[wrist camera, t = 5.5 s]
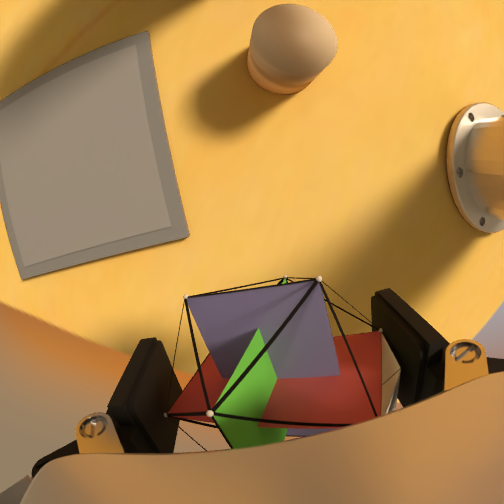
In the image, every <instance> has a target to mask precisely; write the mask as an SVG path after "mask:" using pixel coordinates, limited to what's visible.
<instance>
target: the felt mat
mask: <svg viewBox="0 0 504 504" xmlns="http://www.w3.org/2000/svg"><path fill="white" fill-rule="evenodd" d="M0 203H1V207H2V212H3V216H4V221H5V225H6V229H7V233H8V236H9V240H10V244H11V247H12V251H13V254H14V257H15V260H16V264H17V267H18V270H19V273H20V276H21V278H22V279H26V278H29V277H33V276H37V275H40V274H44V273H47V272H51V271H55V270H59V269H62V268H66V267H70V266H74V265H77V264H81V263H85V262H89V261H93V260H96V259H100V258H104V257H108V256H112V255H116V254H120V253H124V252H128V251H132V250H136V249H140V248H144V247H148V246H153V245H157V244H161V243H165V242H169V241H173V240H178V239H182V238H186V237H189V236H190V233H189V230H188V226H187V221H186V217H185V213H184V209H183V205H182V201H181V197H180V192H179V188H178V184H177V179H176V175H175V170H174V166H173V161H172V157H171V152H170V147H169V142H168V138H167V133H166V128H165V123H164V118H163V112H162V107H161V102H160V96H159V91H158V85H157V79H156V74H155V68H154V61H153V55H152V49H151V42H150V35H149V32H148V31H144V32H141V33H138V34H135V35H132V36H129V37H127V38H124V39H121V40H118V41H116V42H113V43H110V44H108V45H105V46H103V47H100V48H98V49H95V50H93V51H91V52H88V53H86V54H84V55H82V56H80V57H77V58H75V59H73V60H71V61H69V62H67V63H65V64H63V65H61V66H59V67H57V68H55V69H53V70H51V71H49V72H47V73H46V74H44V75H42V76H40V77H38V78H37V79H35V80H33V81H31V82H30V83H28V84H26V85H25V86H23V87H21V88H20V89H18V90H17V91H15V92H13V93H12V94H10V95H9V96H7V97H6V98H4V99H3V100H1V101H0Z"/></svg>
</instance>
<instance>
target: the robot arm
mask: <svg viewBox="0 0 504 504" xmlns="http://www.w3.org/2000/svg"><path fill="white" fill-rule="evenodd" d="M447 173H448V180H449V184H450V190H451V193H452V196H453V199H454V202H455V204H456V206H457V208H458V210H459V212H460V213H461V215H462V216H463V218H464V219H465V220H466V221H467V222H468V223H469V224H470V225H471V226H472V227H474V228H476V229H478V230H480V231H483V232H487V233H496V232H499V231H502V230H503V229H504V112H502V111H501V110H500V109H499V108H497V107H496V106H494V105H492V104H489V103H485V102H484V103H475V104H471V105H468V106H467V107H465V108H464V109H462V110H461V111H460V113H459V114H458V115H457V116H456V118H455V120H454V122H453V124H452V127H451V130H450V134H449V138H448V145H447ZM371 312H372V323H373V324H374V325H375V326H374V325H373V324H372V326H374V327H376V328H379V329H380V328H381V329H382V330H383V332H382V333H383V335H384V337H385V339H386V341H387V342H388V344H389V346H390V348H391V350H392V352H393V354H394V355H395V357H396V359H397V361H398V363H399V365H400V367H401V373H400V381H399V389H398V396H397V398H398V399H399V401H400V403H401V404H402V406H403V408H401V409H398V410H395V411H392V412H390V413H387V414H384V415H381V416H378V417H375V418H372V419H369V420H365V421H362V422H359V423H356V424H352V425H349V426H345V427H342V428H338V429H334V430H330V431H326V432H322V433H318V434H314V435H310V436H305V437H301V438H296V439H291V440H286V441H280V442H275V443H269V444H263V445H256V446H250V447H242V448H234V449H225V450H215V451H203V452H187V453H173V451H174V446H175V440H176V436H177V431H178V426H179V421H180V420H179V419H175V418H171V417H169V418H170V419H172V420H173V421H174V422H175V423H176V424H177V425H178V426H177V425H176V424H175V423H174V422H173V421H171V420H170V419H169V418H168V417H164V413H166V411H167V412H168V411H169V409H170V408H171V407H172V405H173V404H174V402H175V401H176V400H177V398H178V397H179V395H180V394H181V393H182V389H181V387H180V384H179V382H178V380H177V377H176V375H175V373H174V370H173V373H172V369H173V368H172V366H171V363H170V361H169V358H168V356H167V354H166V351H165V349H164V346H163V344H162V342H161V341H160V340H158V341H157V339H156V338H155V337H154V338H147V339H141V340H140V342H139V344H138V346H137V348H136V349H135V351H134V353H133V355H132V357H131V359H130V361H129V363H128V365H127V367H126V369H125V371H124V373H123V375H122V377H121V379H120V381H119V383H118V385H117V387H116V389H115V391H114V393H113V395H112V397H111V400H110V402H109V404H108V406H107V407H108V410H107V412H106V413H93V414H90V415H88V416H86V417H85V418H83V419H82V420H81V421H80V422H79V423H78V424H77V427H76V432H75V433H76V439H77V440H75V441H73V442H71V443H69V444H67V445H66V446H64V447H62V448H60V449H58V450H56V451H55V452H53V453H51V454H49V455H47V456H45V457H43V458H42V459H40V460H38V461H37V463H36V464H35V465H34V467H33V469H32V477H31V478H30V477H29V476H28V475H27V476H26V477H24V478H23V479H21V480H20V481H19V482H17V483H15V484H14V485H12V486H11V487H9V488H8V489H6V490H5V491H3V492H2V493H0V504H504V359H497V358H489V357H486V352H485V349H484V347H483V346H482V345H481V344H480V343H478V342H476V341H473V340H469V339H462V340H457V341H454V342H452V343H451V344H450V343H449V342H448V341H447V340H445V338H444V337H443V336H442V335H440V334H439V333H438V332H437V331H436V330H435V329H434V328H433V327H432V326H431V325H430V324H429V323H428V322H427V321H426V320H424V319H423V318H422V317H421V316H420V315H419V314H418V313H417V312H416V311H415V310H414V309H412V308H411V307H410V306H409V305H408V304H407V303H406V302H405V301H404V300H402V299H401V298H400V297H399V296H398V295H397V294H396V293H395V292H393V291H392V290H391V289H390V288H388V289H384V290H380V291H377V292H375V296H372V297H371ZM375 331H378V330H377V329H375V328H373V327H372V332H375ZM171 375H172V379H171ZM170 382H171V386H170ZM169 389H170V393H169ZM168 396H169V400H168ZM167 403H168V408H167Z"/></svg>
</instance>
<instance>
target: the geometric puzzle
mask: <svg viewBox="0 0 504 504" xmlns="http://www.w3.org/2000/svg"><path fill="white" fill-rule="evenodd" d="M288 278H293V277H287V276H286V275H284V276H283V278H279V279H275V280H270V281H265V282H260V283H255V284H250V285H245V286H240V287H235V288H230V289H225V290H220V291H215V292H209V293H204V294H199V295H193V296H188V295H186V294H185V295H184V296H183V298H184V302H185V306H186V311H187V317H188V322H189V327H190V332H191V337H192V342H193V347H194V352H195V357H196V361H197V366H198V370H197V371H196V373H195V374H194V376H193V377H192V379H191V380H190V382H189V383H188V384H187V386H186V387H185V388H184V390H183V391H182V393H181V394H180V395H179V397H178V398H177V400H176V401H175V402H174V404H173V405H172V407H171V408H170V409H169V411H168V412H167V411H166V413H164V417H168V418H169V417H171V418H175V419H179V420H183V421H187V422H191V423H195V424H200V425H204V426H209V427H214V428H218V429H219V430H220V432H221V433H222V435H223V437H224V438H225V440H226V441H227V443H228V444H229V446H230V447H231V449H234V448H242V447H250V446H256V445H263V444H269V443H275V442H280V441H284V439H285V436H297V437H305V436H310V435H314V434H318V433H322V432H326V431H330V430H334V429H338V428H342V427H345V426H349V425H352V424H356V423H359V422H362V421H365V420H369V419H372V418H375V417H378V416H381V415H384V414H387V413H390V412H392V411H394V409H395V407H396V402H397V396H398V389H399V381H400V373H401V367H400V365H399V363H398V361H397V359H396V357H395V355H394V354H393V352H392V350H391V348H390V346H389V344H388V342H387V341H386V339H385V337H384V335H383V333H382V332H383V330H382V329H381V328H380V329H379V328H376V327H374V326H375V325H374V324H373V323H372V322H371V323H372V324H373V325H374V326H372V325H370V324H369V323H367V322H365V321H363V320H361V319H360V318H358V317H356V316H354V315H352V314H351V313H349V312H347V311H345V310H343V309H342V308H340V307H338V306H336V305H334V304H333V303H331V302H330V301H329V298H328V296H327V294H326V292H325V290H324V287H323V285H322V283H321V281H322V277H321V276H317V277H316V278H298V279H310V280H303V281H297V282H293V281H291V280H290V279H288ZM280 279H282V280H281V281H280V282H279V283H278V284H277V285H270V286H264V287H257V288H250V289H242V290H235V291H228V292H222V291H227V290H232V289H237V288H242V287H247V286H252V285H256V284H261V283H266V282H271V281H276V280H280ZM287 280H289V281H291V282H290V283H288V281H287ZM282 282H283V283H282ZM322 282H323V281H322ZM281 283H282V284H281ZM323 283H324V282H323ZM324 284H325V283H324ZM325 285H326V284H325ZM327 286H328V285H327ZM328 287H329V286H328ZM329 288H330V287H329ZM330 289H331V288H330ZM331 290H332V289H331ZM322 291H323V293H324V295H325V298H326V300H325V299H324V297H323V293H322ZM333 291H334V290H333ZM217 292H220V293H217ZM334 292H335V291H334ZM211 293H213V294H211ZM335 293H336V292H335ZM336 294H337V293H336ZM337 295H338V294H337ZM339 296H340V295H339ZM340 297H341V296H340ZM341 298H342V297H341ZM342 299H343V298H342ZM324 300H325V301H327V302H328V304H329V306H330V309H331V311H332V313H333V316H334V318H335V320H336V322H337V325H338V327H339V329H340V332H341V334H342V336H336V337H333V336H332V332H331V327H330V323H329V319H328V314H327V310H326V306H325V302H324ZM343 300H344V299H343ZM345 301H346V300H345ZM346 302H347V301H346ZM347 303H348V302H347ZM331 304H332V305H334V306H336V307H337V308H339V309H341V310H343V311H344V312H346V313H348V314H350V315H352V316H353V317H355V318H357V319H359V320H361V321H362V322H364V323H366V324H368V325H370V326H371V327H373V328H375V329H377V330H378V331H375V332H368V333H361V334H353V335H344V332H343V330H342V328H341V325H340V323H339V321H338V319H337V316H336V314H335V312H334V310H333V307H332V305H331ZM348 304H349V303H348ZM349 305H350V304H349ZM188 306H189V308H190V310H191V313H192V315H193V317H194V319H195V322H196V324H197V326H198V328H199V330H200V333H201V335H202V337H203V339H204V341H205V344H206V346H207V348H208V350H209V352H210V353H209V354H208V356H207V357H206V359H205V360H204V362H203V363H202V364H201V366H200V361H199V357H198V352H197V348H196V343H195V338H194V334H193V329H192V324H191V319H190V314H189V308H188ZM352 307H353V306H352ZM183 308H184V304H183ZM353 308H354V307H353ZM354 309H355V308H354ZM355 310H356V309H355ZM358 312H359V311H358ZM182 313H183V309H182ZM359 313H360V312H359ZM360 314H361V313H360ZM361 315H362V314H361ZM364 317H365V316H364ZM365 318H366V317H365ZM181 319H182V315H181ZM366 319H367V318H366ZM367 320H368V319H367ZM368 321H369V320H368ZM180 324H181V321H180ZM179 330H180V326H179ZM178 336H179V332H178ZM177 342H178V338H177ZM176 348H177V344H176ZM175 354H176V350H175ZM174 360H175V356H174ZM173 366H174V362H173ZM172 373H173V369H172ZM171 379H172V375H171ZM170 386H171V382H170ZM169 393H170V389H169ZM168 400H169V396H168ZM167 408H168V403H167ZM169 419H170V418H169ZM189 419H190V420H189ZM170 420H171V421H173V420H172V419H170ZM193 420H197V421H204V422H212V423H215V424H216V426H214V425H210V424H206V423H201V422H197V421H193ZM173 422H174V421H173ZM174 423H175V422H174ZM175 424H176V423H175ZM176 425H177V424H176ZM177 426H178V425H177ZM178 427H179V426H178ZM179 428H180V427H179ZM180 429H181V428H180ZM182 431H183V430H182ZM185 433H186V432H185ZM186 434H187V433H186ZM187 435H188V434H187ZM188 436H189V435H188ZM189 437H190V436H189ZM191 438H192V437H191ZM192 439H193V438H192ZM194 441H195V440H194ZM196 443H197V442H196ZM197 444H198V443H197ZM198 445H200V444H198ZM202 448H203V447H202ZM203 449H204V450H205V448H203ZM206 451H207V450H206Z"/></svg>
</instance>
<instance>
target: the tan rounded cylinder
mask: <svg viewBox="0 0 504 504" xmlns="http://www.w3.org/2000/svg"><path fill="white" fill-rule="evenodd" d="M337 45H338V43H337V37H336V33H335V31H334V29H333V27H332V26H331V24H330V23H329V22H328V21H327V20H326V19H325V18H324V17H323V16H322V15H321V14H319V13H318V12H316V11H314V10H313V9H310V8H308V7H305V6H302V5H297V4H281V5H276V6H273V7H271V8H269V9H267V10H265V11H264V12H262V13H261V14H260V15H259V16H258V18H257V19H256V21H255V23H254V25H253V29H252V35H251V40H250V46H249V52H248V58H247V67H248V71H249V73H250V75H251V77H252V78H253V80H254V81H255V82H256V83H257V84H258V85H259V86H260V87H262V88H263V89H265V90H267V91H270V92H272V93H276V94H293V93H296V92H299V91H301V90H303V89H304V88H306V87H307V86H308V85H309V84H310V83H311V82H312V81H313V80H314V79H315V78H316V77H317V76H318V75H319V74H320V73H321V72H322V71H323V70H324V69H325V68H326V66H327V65H328V64H329V63H330V62H331V61H332V60H333V58H334V57H335V54H336V52H337Z"/></svg>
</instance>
